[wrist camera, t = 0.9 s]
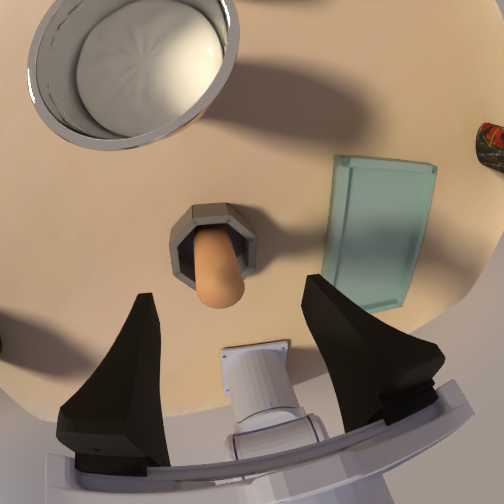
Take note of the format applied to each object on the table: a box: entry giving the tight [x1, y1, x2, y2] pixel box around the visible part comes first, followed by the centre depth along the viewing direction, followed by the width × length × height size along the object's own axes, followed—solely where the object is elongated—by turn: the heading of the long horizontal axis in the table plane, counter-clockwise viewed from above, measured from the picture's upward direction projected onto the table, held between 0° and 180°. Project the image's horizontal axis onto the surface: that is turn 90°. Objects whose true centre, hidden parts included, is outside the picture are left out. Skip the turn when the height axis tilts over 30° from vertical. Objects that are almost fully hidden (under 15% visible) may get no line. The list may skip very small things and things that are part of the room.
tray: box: [321, 155, 437, 314], centre depth 29 cm, size 18×12×2 cm, turn 0°
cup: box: [169, 203, 256, 291], centre depth 24 cm, size 7×7×3 cm
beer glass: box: [27, 0, 240, 151], centre depth 12 cm, size 7×7×15 cm
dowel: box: [194, 223, 245, 309], centre depth 21 cm, size 3×3×8 cm
